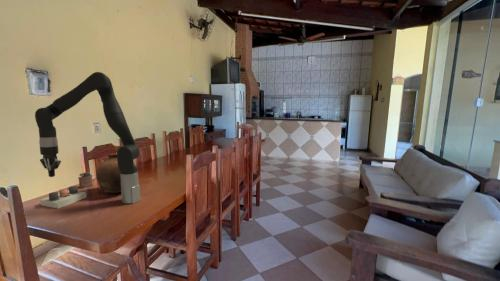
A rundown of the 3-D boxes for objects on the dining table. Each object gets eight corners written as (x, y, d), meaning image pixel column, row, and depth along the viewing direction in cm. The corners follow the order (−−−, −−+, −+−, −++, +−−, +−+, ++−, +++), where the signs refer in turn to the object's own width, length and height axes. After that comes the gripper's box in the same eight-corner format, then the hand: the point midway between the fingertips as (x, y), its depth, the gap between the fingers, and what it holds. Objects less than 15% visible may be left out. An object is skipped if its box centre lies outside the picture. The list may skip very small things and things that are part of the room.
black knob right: (79, 191, 145) (78, 186, 145) (72, 193, 141) (72, 188, 141) (74, 190, 146) (73, 185, 146) (67, 192, 143) (67, 187, 142)
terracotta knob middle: (70, 194, 140) (69, 189, 140) (63, 197, 136) (62, 191, 136) (65, 193, 141) (64, 188, 141) (57, 196, 137) (57, 190, 137)
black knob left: (60, 198, 135) (59, 192, 134) (52, 200, 131) (52, 195, 131) (55, 197, 136) (54, 191, 135) (47, 199, 132) (46, 194, 132)
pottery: (121, 199, 144) (119, 158, 140) (88, 195, 148) (85, 155, 145) (145, 186, 166) (143, 151, 162) (115, 183, 170) (113, 148, 167)
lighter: (91, 184, 167) (90, 170, 165) (93, 185, 165) (92, 171, 163) (78, 188, 160) (77, 173, 158) (80, 189, 158) (79, 174, 157)
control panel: (86, 197, 145) (86, 192, 145) (57, 208, 130) (57, 203, 129) (70, 194, 149) (70, 189, 148) (40, 204, 133) (40, 199, 133)
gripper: (65, 145, 131) (67, 176, 133) (47, 143, 134) (50, 173, 137) (50, 147, 124) (53, 180, 126) (32, 145, 127) (35, 176, 130)
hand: (51, 176), depth 132 cm, fingers closed
